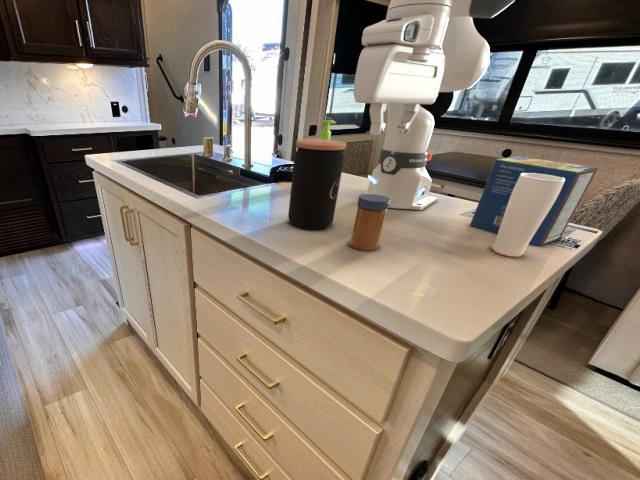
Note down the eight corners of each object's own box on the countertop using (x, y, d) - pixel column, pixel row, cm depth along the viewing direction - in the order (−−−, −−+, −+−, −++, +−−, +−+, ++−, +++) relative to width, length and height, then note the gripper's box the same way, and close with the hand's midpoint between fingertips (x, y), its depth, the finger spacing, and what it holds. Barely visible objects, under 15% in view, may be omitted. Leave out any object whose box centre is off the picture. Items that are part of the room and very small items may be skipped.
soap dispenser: (316, 187, 114) (326, 120, 104) (306, 182, 120) (314, 119, 109) (331, 186, 116) (342, 120, 105) (321, 182, 121) (330, 119, 111)
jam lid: (368, 201, 70) (370, 192, 69) (394, 207, 66) (396, 199, 65) (351, 205, 67) (353, 196, 66) (376, 212, 63) (379, 203, 62)
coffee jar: (332, 233, 76) (348, 146, 67) (285, 228, 78) (294, 143, 69) (331, 218, 85) (345, 140, 76) (289, 215, 87) (297, 138, 78)
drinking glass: (511, 246, 72) (546, 173, 64) (534, 259, 67) (576, 181, 59) (480, 245, 72) (511, 172, 64) (500, 258, 66) (538, 179, 59)
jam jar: (360, 239, 74) (370, 195, 69) (382, 247, 70) (394, 201, 65) (344, 244, 71) (353, 199, 66) (366, 252, 67) (378, 205, 62)
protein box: (490, 219, 88) (517, 156, 80) (560, 239, 77) (600, 167, 69) (468, 225, 84) (494, 158, 76) (539, 246, 73) (579, 171, 64)
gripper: (426, 43, 60) (404, 130, 67) (355, 29, 49) (338, 134, 56) (463, 40, 56) (435, 133, 63) (395, 23, 45) (371, 138, 52)
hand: (389, 134), depth 59 cm, fingers open, 7 cm apart
